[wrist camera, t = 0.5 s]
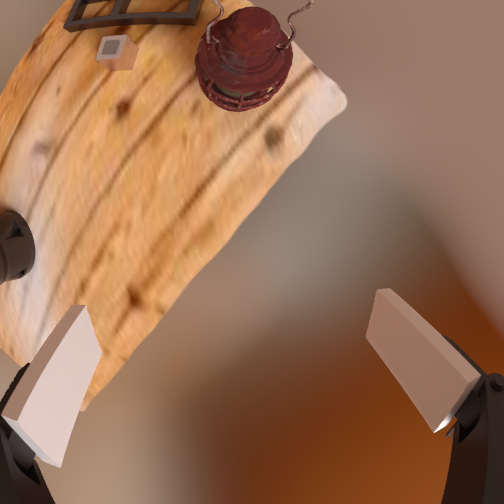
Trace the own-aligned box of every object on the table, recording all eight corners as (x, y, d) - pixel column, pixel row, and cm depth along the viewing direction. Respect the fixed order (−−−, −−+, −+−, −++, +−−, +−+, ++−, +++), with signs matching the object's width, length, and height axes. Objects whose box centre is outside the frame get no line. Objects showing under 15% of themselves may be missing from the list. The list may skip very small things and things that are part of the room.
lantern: (274, 56, 38) (343, -44, 10) (271, 119, 42) (354, 69, 14) (203, 52, 36) (187, -62, 8) (198, 116, 41) (162, 52, 13)
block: (110, 70, 35) (94, 59, 28) (116, 49, 34) (102, 35, 27) (132, 70, 36) (118, 58, 29) (138, 48, 34) (126, 33, 28)
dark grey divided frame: (69, 32, 30) (63, 27, 27) (83, 1, 27) (78, -5, 24) (194, 25, 34) (193, 18, 31) (206, -7, 31) (205, -15, 29)
